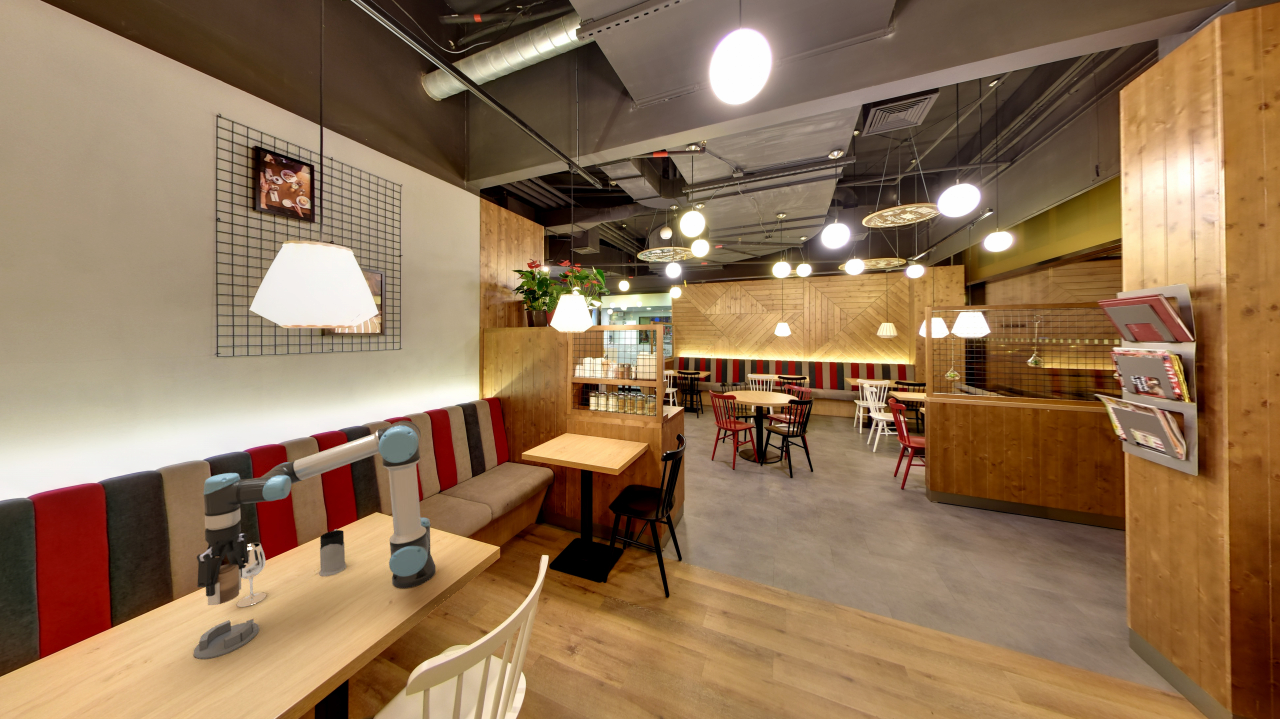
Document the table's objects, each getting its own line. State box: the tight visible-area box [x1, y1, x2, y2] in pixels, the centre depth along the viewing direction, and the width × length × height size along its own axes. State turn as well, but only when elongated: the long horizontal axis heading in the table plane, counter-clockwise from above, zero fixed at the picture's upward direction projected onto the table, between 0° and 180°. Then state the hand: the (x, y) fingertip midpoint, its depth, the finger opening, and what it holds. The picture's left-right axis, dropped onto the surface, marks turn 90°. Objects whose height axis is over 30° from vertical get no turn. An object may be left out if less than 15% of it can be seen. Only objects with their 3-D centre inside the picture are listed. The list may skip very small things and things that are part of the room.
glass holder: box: [319, 528, 347, 577], centre depth 161 cm, size 9×14×15 cm, turn 30°
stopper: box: [217, 563, 240, 605], centre depth 120 cm, size 6×6×10 cm
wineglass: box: [236, 542, 267, 608], centre depth 139 cm, size 8×8×20 cm
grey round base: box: [193, 618, 260, 660], centre depth 120 cm, size 14×14×4 cm
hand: (225, 596), depth 120 cm, fingers closed on stopper, 6 cm apart
